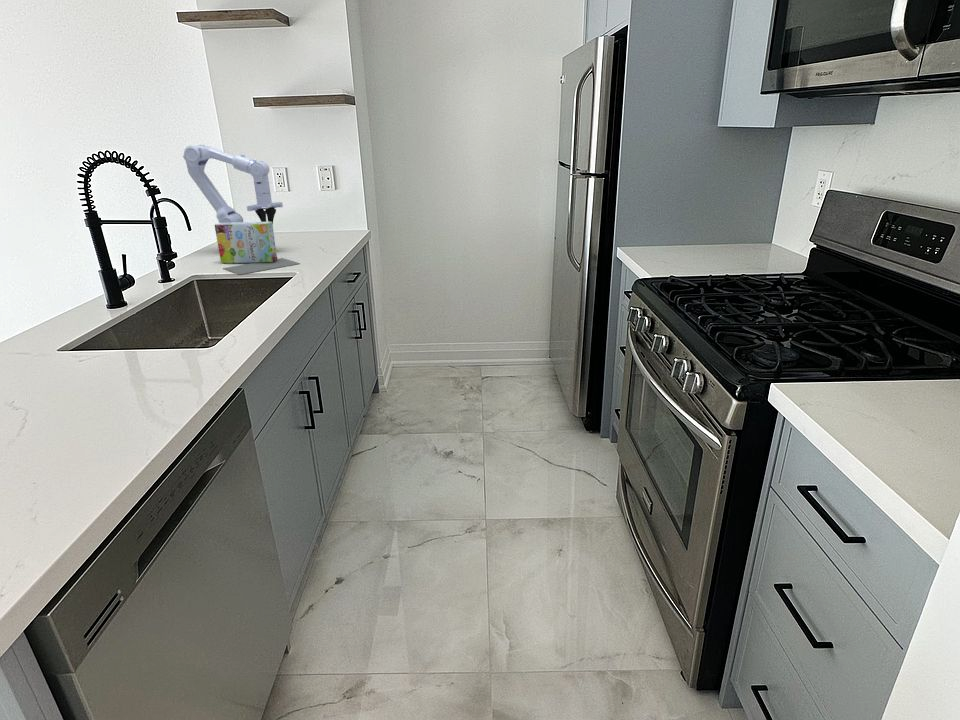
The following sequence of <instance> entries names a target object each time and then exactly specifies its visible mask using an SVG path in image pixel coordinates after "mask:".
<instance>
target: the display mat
mask: <svg viewBox="0 0 960 720" xmlns="http://www.w3.org/2000/svg"><path fill="white" fill-rule="evenodd" d="M300 264H301V263H300V262H297V261H294V260H291V259H287V258H283V257H280V258H277V260H276V261H274V262H257V263H245V264H244V263H243V264H240V265H239V264H238V265H233V266H227V267H222V270H224V269H225V270H224V271H227V270H228V271H227V272H230V271H231V272H230V273H233V272H234V273H233V274H235V273H237V274H236V275H238V274H239V276H242V275H247V274H252V273H258V272H265V271H270V270H273V269H274V270H275V269H280V268H287V267H291V266H296V265H300ZM286 266H287V267H286Z"/></svg>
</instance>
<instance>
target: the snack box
mask: <svg viewBox="0 0 960 720" xmlns="http://www.w3.org/2000/svg"><path fill="white" fill-rule="evenodd" d="M214 229H215V236H216V242H217V247H218V253H219V260H220V263H221V264H231V263H232V264H236V263H237V264H240V263H243V264H244V263H245V264H250V263H257V262H274V261H276V260H277V259H278V253H277V245H276V239H275V233H274V232H275V231H274V223H273V224H272V222H268V221H267V222H261V221H243V222H234V223H219V222H218V223H215V224H214Z"/></svg>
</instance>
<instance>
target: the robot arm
mask: <svg viewBox="0 0 960 720" xmlns="http://www.w3.org/2000/svg"><path fill="white" fill-rule="evenodd" d="M182 158H183V160H184V161H185V163H186V169H187V173H188V175H189V176H190V178H191V179H192V181H193V182H194V183H195V185H196V186H197V187H198V188H199V191H200V192H201V194H203V196H204V197H205V198H206V200H207V201H208V203H209V204H210V205H211V207H212V208H213V209H214V210H215V212H216V219H217V221H218V223H234V222H244V217H242V215H241V214H240V213H238V212H237V211H236V210H235V209H234V208H233V207H231V206H230V205H228V203H227V202H226V201H225V199H224V197H223V196H222V195H221V193H220V192H219V191H218V189H217V187H215V185H214V184H213V182H212V180H211V179H210V178H209V177H208V175H207V174H206V173H205V167H206V165H207V163H208V161H209V160H210V159H212V160H216V161H217V160H218V161H220V162H224V163H225V164H229V165H232V166H233V168H234V169H235V170H238V171H240V172H244V173H246V174H249V175H251V177H252V178H253V185H254V191H255V198H256V204H250V205H247V206H246V211H248V212H252V211H254V212H255V213H256V215H257V217H258V218H259V220H260V222H272V224H273V225H274V218H275V215H276V214H277V208H278V209H279V208H283V207H284V205H283V202H280V201H279V202H277V201H275V202H273V201H272V195H271V187H270V181H269V176H268V175H269V173H270V167H269V165H268V164H267V162H264V161H263V160H260V161H257V159H256V158H253V159H252V158H249V157H247V156H246V155H245V154H243V153H241V154H236V155H235V156H234V155H233V154H229V153H226V152H224V151H222V150H220V149H217V148H215V147H211V146H206V145H205V144H198V145H188V146H187V147H185V148H184V151H183V156H182Z"/></svg>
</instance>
